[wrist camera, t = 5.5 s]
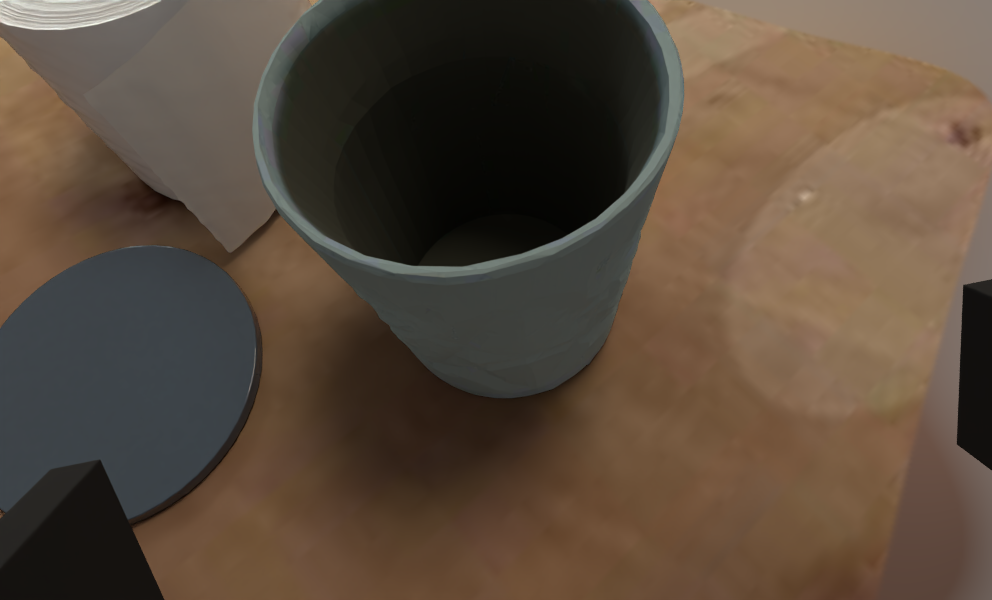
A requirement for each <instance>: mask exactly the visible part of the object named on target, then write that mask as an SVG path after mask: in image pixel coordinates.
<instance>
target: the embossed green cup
mask: <svg viewBox="0 0 992 600" xmlns="http://www.w3.org/2000/svg"><path fill="white" fill-rule="evenodd" d="M683 102H684V78H683V72H682V65H681V61H680V57H679V54H678V50H677V48H676V46H675V44H674V41H673V39H672V37H671V35H670V33H669V31H668V29H667V27H666V25H665V23H664V21H663V20H662V18H661V17H660V15H659V14H658V12H657V11H656V9H655V8H654V6H653V5H652V4H651V3H650V2H649V1H647V0H319V1H318V2H316V3H315V4H314V5H313V6H312V7H310V8H309V9H308V10H307V11H306V12H304V14H303V15H302V16H301V17H300V18H299V19H298V20H297V22H296V23H295V24H294V25H293V26H292V27H291V28H290V30H289V31H288V32H287V33H286V34H285V35H284V37H283V38H282V40H281V41H280V43H279V44H278V46H277V47H276V49H275V50H274V52H273V53H272V55H271V57H270V60H269V62H268V64H267V66H266V68H265V70H264V72H263V75H262V77H261V81H260V84H259V88H258V91H257V95H256V98H255V102H254V111H253V126H252V134H253V143H254V151H255V158H256V164H257V167H258V171H259V174H260V177H261V181H262V184H263V187H264V189H265V190H266V192H267V194H268V196H269V197H270V199H271V201H272V202H273V204H274V206H275V207H276V209H277V211H278V213H279V214H280V215H281V216H282V217H283V218H284V220H285V221H286V222H287V223H288V224H289V225H290V226H291V227H292V228H293V229H294V230H295V231H296V232H297V233H298V234H299V235H300V236H301V237H302V238H303V239H304V240H305V241H306V242H307V243H308V244H309V245H310V246H311V247H312V248H313V249H314V250H315V251H316V252H317V253H318V254H319V255H320V256H321V257H322V258H323V259H324V260H325V261H326V262H327V263H328V264H329V265H330V266H331V267H332V268H333V269H334V270H335V271H336V272H337V273H338V274H339V275H340V276H341V277H342V278H343V279H344V280H345V281H346V282H347V283H348V284H349V285H350V286H351V287H353V289H354V291H355V292H356V293H357V295H358V296H359V297H360V298H362V299H364V300H365V301H366V302H367V303H369V304H370V305H371V306H372V307H373V308H374V310H375V311H376V312H377V314H378V316H379V318H380V319H381V320H382V321H384V322H385V323H387V324H388V325H390V328H391V330H392V332H393V333H394V334H396V336H397V337H398V338H399V339H400V340H401V341H402V342H403V343H404V344H406V345H407V346H408V348H409V349H410V350H411V351H412V352H413V353H414V355H415V356H416V357H417V358H418V359H419V360H420V361H421V362H422V363H423V364H424V365H425V366H426V367H427V369H428V370H430V371H431V372H432V373H433V374H435V375H436V376H437V377H438V378H440V379H441V380H443V381H445V382H446V383H448V384H450V385H452V386H454V387H456V388H458V389H461V390H463V391H465V392H469V393H472V394H475V395H480V396H486V397H492V398H516V397H523V396H530V395H533V394H537V393H541V392H544V391H548V390H552V389H554V388H555V387H557V386H558V385H560V384H562V383H563V382H565V381H566V380H568V379H569V378H571V377H572V376H574V375H575V374H577V373H578V372H579V371H580V370H582V369H583V368H584V367H585V366H586V365H589V364H590V362H591V360H592V359H593V357H594V356H595V355H596V354H597V353H598V351H599V350H600V348H601V347H602V345H603V344H604V342H605V340H606V338H607V336H608V334H609V332H610V330H611V327H612V324H613V321H614V318H615V315H616V312H617V308H618V303H619V301H620V298H621V296H622V292H623V289H624V287H625V285H626V282H627V279H628V276H629V273H630V270H631V266H632V260H633V258H634V256H635V254H636V251H637V248H638V243H639V240H640V237H641V229H642V227H643V225H644V223H645V220H646V217H647V215H648V212H649V209H650V207H651V204H652V201H653V198H654V195H655V192H656V189H657V187H658V184H659V181H660V179H661V176H662V174H663V171H664V168H665V166H666V163H667V161H668V158H669V155H670V153H671V150H672V147H673V145H674V142H675V139H676V136H677V133H678V130H679V126H680V121H681V116H682V112H683Z"/></svg>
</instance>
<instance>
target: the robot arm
mask: <svg viewBox="0 0 992 600" xmlns="http://www.w3.org/2000/svg"><path fill="white" fill-rule="evenodd" d="M962 307H963V308H962V331H961V332H962V333H961V354H960V379H959V380H960V382H959V404H958V429H957V445H959V446H960V447H961V448H963V449H964V450H965V451H967V452H968V453H969V454H971V455H972V456H973V457H975V458H976V459H977V460H979V461H980V462H981V463H983V464H984V465H985V466H987V467H988V468H989V469H990V470H992V279H991V280H987V281H981V282H976V283H971V284H967V285H963V305H962ZM0 600H164V598H163V596H162V593H161V591H160V589H159V587H158V585H157V582H156V580H155V578H154V576H153V574H152V572H151V569H150V567H149V565H148V563H147V561H146V558H145V556H144V554H143V552H142V550H141V547H140V545H139V543H138V541H137V539H136V537H135V534H134V532H133V530H132V528H131V526H130V523H129V521H128V519H127V517H126V515H125V512H124V510H123V508H122V506H121V504H120V502H119V499H118V497H117V495H116V493H115V491H114V488H113V486H112V484H111V482H110V480H109V477H108V475H107V473H106V471H105V469H104V467H103V464H102V462H101V460H100V459H99V460H94V461H89V462H84V463H79V464H74V465H69V466H64V467H59V468H54V469H50V470H49V471H48V472H47V473H46V474H45V475H44V476H43V477H42V478H41V479H40V480H39V481H38V482H37V483H36V484H35V485H34V486H33V487H32V488H31V489H30V490H29V491H28V492H27V493H26V494H25V495H24V496H23V497H22V498H21V499H20V500H19V501H18V502H17V503H16V504H15V505H14V506H13V507H12V508H11V509H10V510H9V511H8V512H7V513H6V514H5V515H4V516H3V517H2V518H1V519H0Z"/></svg>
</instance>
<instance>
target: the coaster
mask: <svg viewBox="0 0 992 600" xmlns="http://www.w3.org/2000/svg"><path fill="white" fill-rule="evenodd" d="M261 369H262V342H261V332H260V328H259V325H258V321H257V317H256V314H255V312H254V310H253V307H252V305H251V303H250V301H249V299H248V298H247V296H246V295H245V293H244V292H243V290H242V289H241V288H240V286H239V285H238V284H237V283H236V282H235V281H234V280H233V279H232V278H231V277H230V276H229V275H228V274H227V273H226V272H225V271H224V270H223V269H221V268H220V267H219V266H218V265H216V264H215V263H213V262H212V261H210V260H208V259H206V258H205V257H203V256H201V255H198V254H196V253H193V252H190V251H188V250H184V249H179V248H175V247H169V246H158V245H146V246H133V247H126V248H120V249H116V250H113V251H109V252H105V253H102V254H99V255H96V256H94V257H91V258H88V259H86V260H84V261H82V262H80V263H78V264H76V265H74V266H72V267H70V268H68V269H66V270H64V271H63V272H61V273H60V274H58V275H56V276H55V277H53V278H52V279H50V280H49V281H48V282H46V283H45V284H44V285H42V286H41V287H40V288H38V289H37V290H36V291H35V292H34V293H32V294H31V295H30V296H29V297H28V298H27V299H26V300H25V301H24V302H22V303H21V305H20V306H19V307H18V308H17V309H16V310H15V311H14V312H13V313H12V314H11V315H10V316H9V317H8V319H7V320H6V321H5V323H4V324H3V325H2V327H1V328H0V509H1V510H2V511H3V512H4V513H7V512H8V511H9V510H10V509H11V508H12V507H13V506H14V505H15V504H16V503H17V502H18V501H19V500H20V499H21V498H22V497H23V496H24V495H25V494H26V493H27V492H28V491H29V490H30V489H31V488H32V487H33V486H34V485H35V484H36V483H37V482H38V481H39V480H40V479H41V478H42V477H43V476H44V475H45V474H46V473H47V472H48V471H49V470H50V469H54V468H59V467H64V466H69V465H74V464H79V463H84V462H89V461H94V460H99V459H100V460H101V462H102V464H103V467H104V469H105V471H106V473H107V475H108V477H109V480H110V482H111V484H112V486H113V488H114V491H115V493H116V495H117V497H118V499H119V502H120V504H121V506H122V508H123V510H124V512H125V515H126V517H127V519H128V521H129V523H130V525H131V524H133V523H136V522H138V521H141V520H143V519H145V518H148V517H150V516H152V515H154V514H156V513H157V512H159V511H161V510H163V509H165V508H166V507H168V506H170V505H171V504H173V503H174V502H176V501H177V500H178V499H180V498H181V497H183V496H184V495H186V494H187V493H188V492H189V491H191V490H192V489H193V488H194V487H195V486H196V485H197V484H199V483H200V482H201V481H202V480H203V479H204V478H205V477H206V476H207V475H208V474H209V473H210V472H211V471H212V470H213V469H214V467H215V466H216V465H217V464H218V463H219V462H220V461H221V460H222V458H223V457H224V455H225V454H226V453H227V451H228V450H229V449H230V447H231V446H232V445H233V443H234V442H235V440H236V438H237V436H238V435H239V433H240V431H241V429H242V428H243V426H244V424H245V422H246V420H247V417H248V415H249V413H250V410H251V408H252V406H253V403H254V399H255V396H256V393H257V390H258V386H259V380H260V374H261Z"/></svg>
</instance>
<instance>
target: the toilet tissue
mask: <svg viewBox="0 0 992 600" xmlns="http://www.w3.org/2000/svg"><path fill="white" fill-rule="evenodd" d="M310 7H312V5H311V3H310V1H309V0H0V37H1V38H3V39H4V40H5V41H7V43H8V44H9V45H10V46H11V47H12V48H13V49H14V50H15V51H16V52H17V53H18V54H19V55H20V56H21V57H22V58H23V59H24V60H25V61H26V63H27V64H28V66H29V67H30V68H31V69H32V70H33V71H35V72H36V73H37V74H39V75H40V76H41V77H42V78H43V79H44V80H45V81H46V82H47V83H48V84H49V85H50V87H51V88H52V89H53V90H54V91H55V92H56V93H57V95H58V96H59V98H60V99H61V100H62V101H63V102H64V103H65V104H66V105H67V106H68V107H70V108H71V109H73V110H74V111H75V112H76V113H77V114H78V116H79V117H80V118H81V119H82V121H83V122H84V123H85V124H86V125H87V127H89V128H90V129H91V130H92V131H93V132H94V133H95V134H96V135H97V136H99V137H100V138H101V139H102V140H103V141H104V143H105V144H106V146H107V147H109V148H110V149H111V150H113V151H114V152H115V153H116V154H117V155H118V157H119V158H120V159H121V160H122V161H123V162H125V163H126V164H127V166H128V167H129V168H130V169H131V170H132V171H133V172H134V173H135V174H136V175H137V176H138V177H139V178H140V179H141V180H142V181H144V182H145V183H146V184H147V185H149V186H150V187H151V188H152V189H153V190H155V191H156V192H159V193H161V194H163V195H165V196H167V197H169V198H171V199H175V200H179V201H182V202H183V203H184V204H185V206H186V207H187V209H188V210H190V211H191V212H193V214H194V215H195V216H196V217H197V218H198V220H199V221H200V223H201V224H203V225H205V226H206V228H207V229H208V230H209V231H210V232H211V233H212V234H213V236H214V237H215V239H216V240H218V241H219V242H220V243H221V244H222V245H223V246H224V247H225V249H226V251H227V252H229V253H231V252H233V251H234V250H235V249H236V248H238V247H239V246H240V245H241V244H242V243H243V242H244V241H245V240H246V239H247V238H248V237H249V236H250V235H251V234H252V233H254V232H255V231H256V230H257V229H258V228H259V227H261V226H262V225H263V224H264V223H266V222H267V221H268V219H269V218H270V216H271V215H272V213H273V212H274V211H275V209H276V207H275V206H274V204H273V202H272V201H271V199H270V197H269V196H268V194H267V192H266V190H265V189H264V187H263V184H262V181H261V177H260V174H259V171H258V167H257V164H256V158H255V151H254V143H253V134H252V126H253V111H254V102H255V98H256V95H257V91H258V88H259V84H260V81H261V77H262V75H263V72H264V70H265V68H266V66H267V64H268V62H269V60H270V57H271V55H272V53H273V52H274V50H275V49H276V47H277V46H278V44H279V43H280V41H281V40H282V38H283V37H284V35H285V34H286V33H287V32H288V31H289V30H290V28H291V27H292V26H293V25H294V24H295V23H296V22H297V20H298V19H299V18H300V17H301V16H302V15H303V14H304V12H306V11H307V10H308V9H309V8H310Z"/></svg>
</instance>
